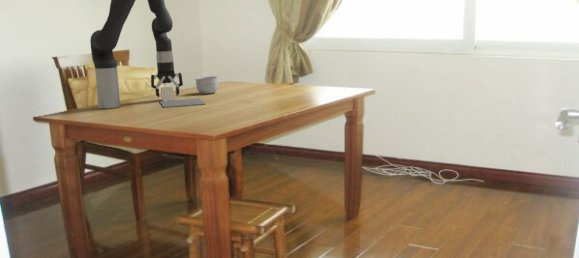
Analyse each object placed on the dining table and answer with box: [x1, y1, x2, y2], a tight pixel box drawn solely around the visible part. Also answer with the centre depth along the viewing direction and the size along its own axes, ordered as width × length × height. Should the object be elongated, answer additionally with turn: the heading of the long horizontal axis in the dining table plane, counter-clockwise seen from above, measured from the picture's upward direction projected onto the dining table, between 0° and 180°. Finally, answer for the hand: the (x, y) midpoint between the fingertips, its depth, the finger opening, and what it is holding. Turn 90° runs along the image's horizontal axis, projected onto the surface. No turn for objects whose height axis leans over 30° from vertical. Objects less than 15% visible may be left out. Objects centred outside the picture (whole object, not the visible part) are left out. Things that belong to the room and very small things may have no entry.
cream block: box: [160, 85, 175, 101], centre depth 278 cm, size 5×5×6 cm
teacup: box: [195, 75, 219, 95], centre depth 297 cm, size 14×11×8 cm
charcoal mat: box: [159, 97, 206, 108], centre depth 267 cm, size 18×18×1 cm
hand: (167, 96), depth 279 cm, fingers open, 8 cm apart
